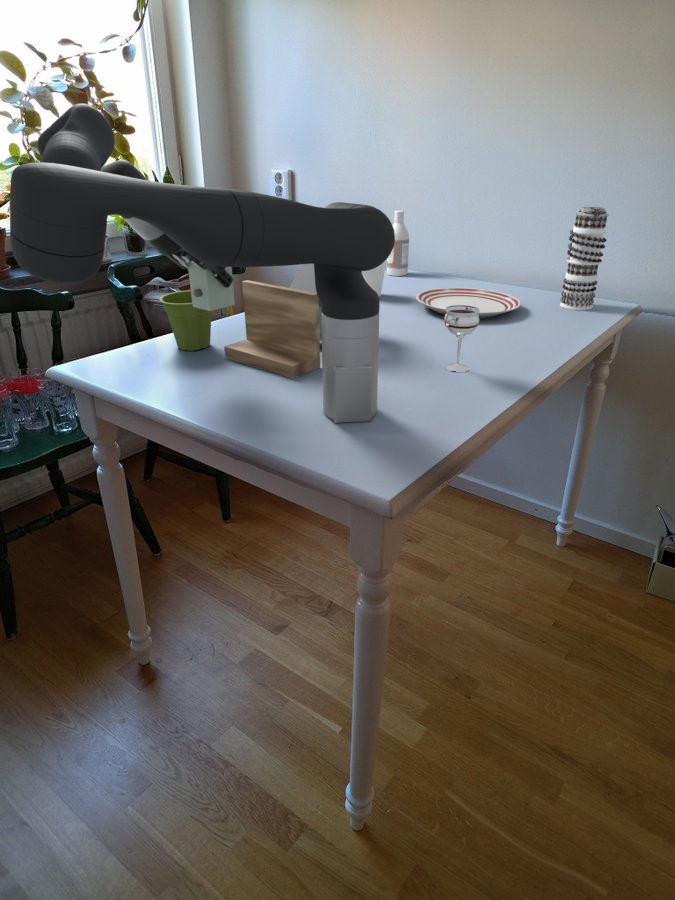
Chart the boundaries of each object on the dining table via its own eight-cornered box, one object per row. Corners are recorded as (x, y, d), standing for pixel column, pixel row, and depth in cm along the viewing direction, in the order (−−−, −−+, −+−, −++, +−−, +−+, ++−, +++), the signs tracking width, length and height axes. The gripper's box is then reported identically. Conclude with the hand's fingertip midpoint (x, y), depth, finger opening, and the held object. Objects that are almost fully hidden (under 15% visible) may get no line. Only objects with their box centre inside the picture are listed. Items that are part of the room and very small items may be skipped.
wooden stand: (293, 378, 119) (289, 301, 112) (225, 357, 130) (218, 286, 123) (320, 367, 124) (318, 293, 117) (252, 348, 136) (247, 280, 129)
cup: (349, 293, 181) (349, 251, 175) (378, 291, 183) (379, 250, 178) (359, 300, 173) (360, 257, 168) (389, 298, 175) (390, 255, 170)
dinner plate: (506, 297, 176) (507, 285, 175) (531, 323, 152) (533, 310, 150) (411, 297, 177) (412, 286, 175) (421, 324, 152) (421, 311, 151)
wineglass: (471, 362, 126) (477, 304, 121) (477, 374, 120) (483, 313, 115) (438, 362, 126) (442, 304, 121) (442, 374, 120) (447, 313, 115)
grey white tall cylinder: (554, 301, 170) (569, 205, 158) (588, 302, 169) (606, 205, 158) (562, 310, 162) (578, 209, 150) (598, 310, 161) (617, 209, 150)
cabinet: (206, 311, 111) (200, 255, 106) (189, 307, 113) (182, 252, 109) (234, 304, 115) (230, 249, 111) (217, 300, 118) (212, 247, 113)
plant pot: (164, 341, 141) (157, 292, 135) (215, 336, 144) (210, 288, 139) (169, 357, 131) (161, 305, 125) (224, 351, 134) (219, 300, 129)
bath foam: (382, 273, 206) (384, 210, 197) (400, 271, 209) (402, 209, 199) (393, 277, 200) (395, 212, 191) (411, 275, 203) (414, 211, 194)
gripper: (120, 235, 104) (186, 293, 118) (172, 243, 96) (236, 304, 109) (142, 199, 105) (204, 260, 119) (195, 204, 97) (255, 269, 111)
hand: (219, 281), depth 114 cm, fingers closed on cabinet, 5 cm apart
